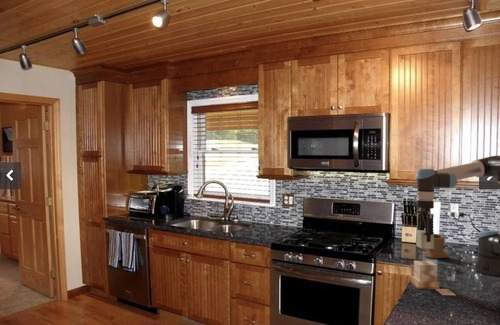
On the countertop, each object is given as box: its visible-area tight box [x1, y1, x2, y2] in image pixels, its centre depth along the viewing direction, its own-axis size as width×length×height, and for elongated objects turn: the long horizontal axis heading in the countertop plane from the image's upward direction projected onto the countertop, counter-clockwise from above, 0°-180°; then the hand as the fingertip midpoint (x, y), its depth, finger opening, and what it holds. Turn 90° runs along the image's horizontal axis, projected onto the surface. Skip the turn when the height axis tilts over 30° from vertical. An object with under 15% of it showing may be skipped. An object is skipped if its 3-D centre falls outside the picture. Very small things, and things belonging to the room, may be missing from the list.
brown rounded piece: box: [422, 233, 450, 259], centre depth 244 cm, size 15×12×15 cm
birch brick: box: [413, 260, 438, 282], centre depth 190 cm, size 8×8×8 cm
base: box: [409, 275, 441, 290], centre depth 190 cm, size 11×11×3 cm
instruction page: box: [434, 288, 456, 296], centre depth 180 cm, size 6×8×1 cm
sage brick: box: [415, 229, 435, 250], centre depth 190 cm, size 6×6×8 cm
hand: (424, 246), depth 190 cm, fingers closed on sage brick, 6 cm apart
